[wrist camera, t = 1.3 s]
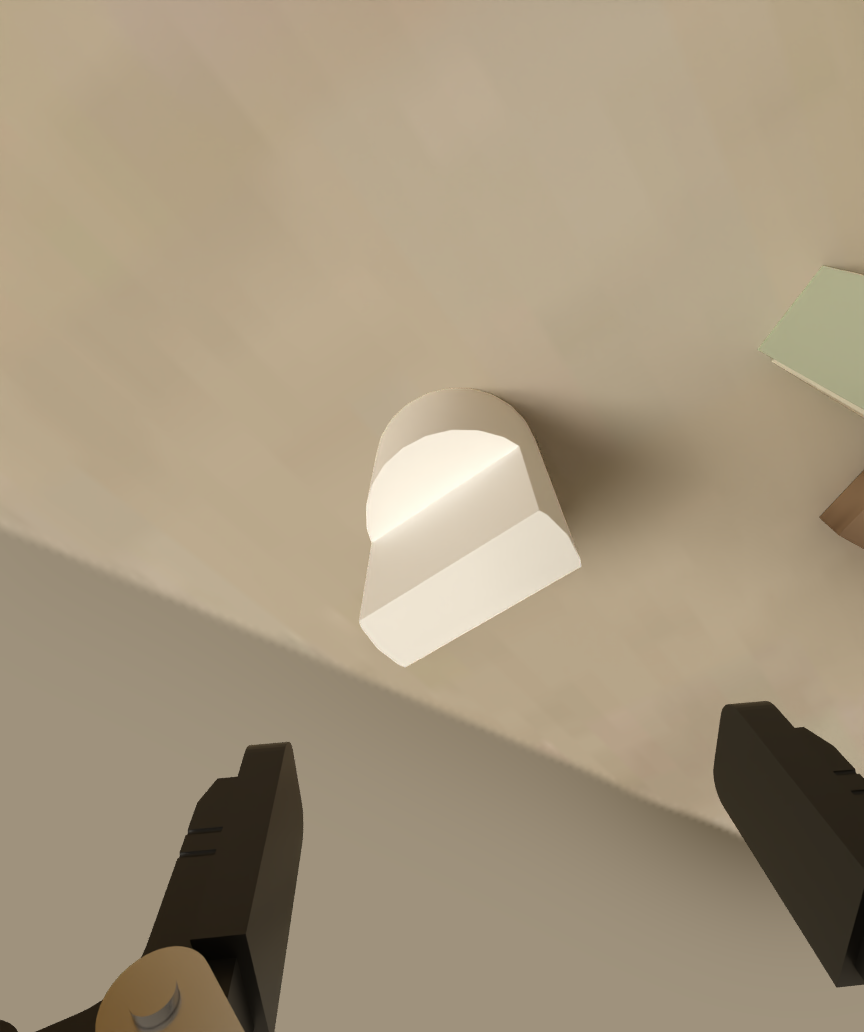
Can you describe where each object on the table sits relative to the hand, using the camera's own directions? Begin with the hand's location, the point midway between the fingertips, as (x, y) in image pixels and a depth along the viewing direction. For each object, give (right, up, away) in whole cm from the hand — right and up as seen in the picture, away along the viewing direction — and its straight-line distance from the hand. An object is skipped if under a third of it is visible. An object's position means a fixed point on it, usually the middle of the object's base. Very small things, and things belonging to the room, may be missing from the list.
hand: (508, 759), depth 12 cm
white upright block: (0, +7, +24) cm, 25 cm away
